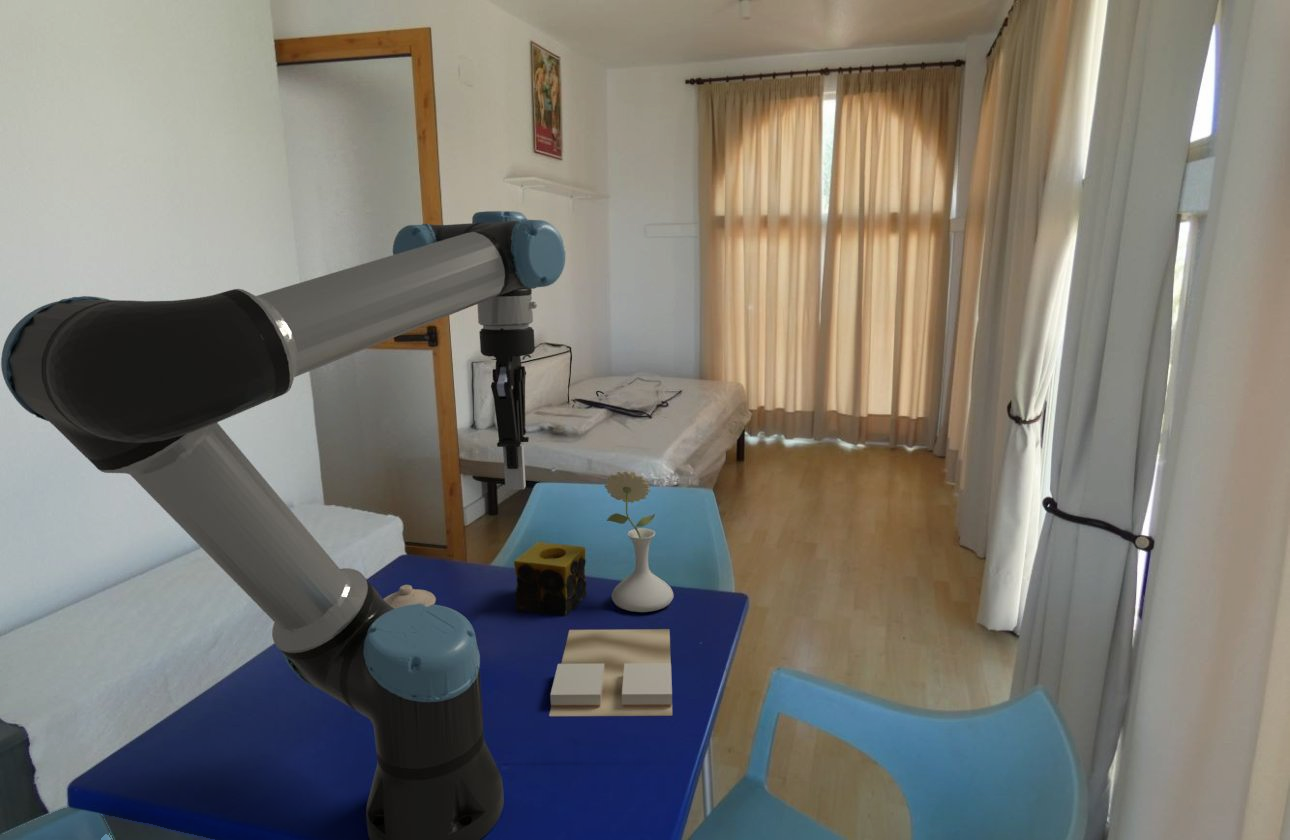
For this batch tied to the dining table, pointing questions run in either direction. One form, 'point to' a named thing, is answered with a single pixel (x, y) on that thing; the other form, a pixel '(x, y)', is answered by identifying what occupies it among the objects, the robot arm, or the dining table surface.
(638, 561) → the flower in vase
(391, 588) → the dining table surface
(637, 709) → the board
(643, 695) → the tile
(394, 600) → the teacup with lid
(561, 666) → the tile
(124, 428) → the robot arm
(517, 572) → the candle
